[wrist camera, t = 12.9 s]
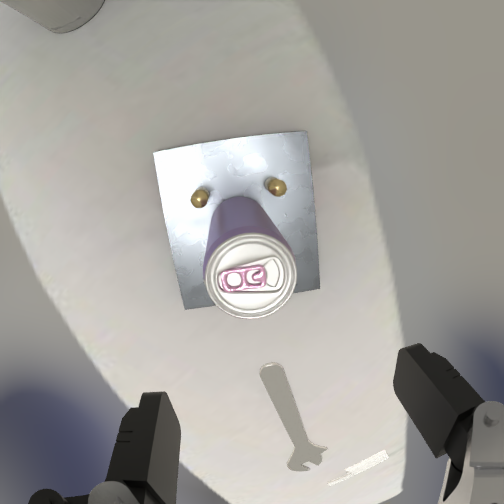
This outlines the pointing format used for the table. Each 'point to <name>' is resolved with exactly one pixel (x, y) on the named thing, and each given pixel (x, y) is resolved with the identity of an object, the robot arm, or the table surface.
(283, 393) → the wrench
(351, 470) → the white plastic blade
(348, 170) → the table surface
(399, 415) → the table surface
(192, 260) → the chassis plate
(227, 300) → the beverage can
